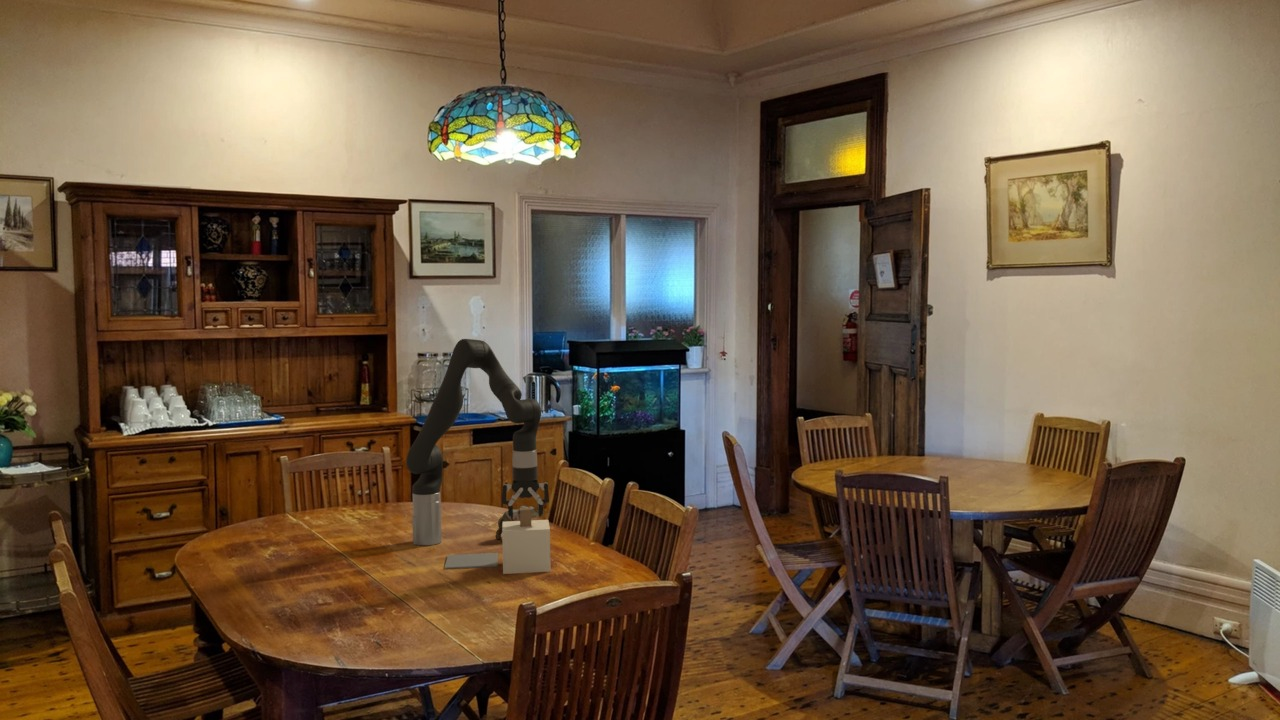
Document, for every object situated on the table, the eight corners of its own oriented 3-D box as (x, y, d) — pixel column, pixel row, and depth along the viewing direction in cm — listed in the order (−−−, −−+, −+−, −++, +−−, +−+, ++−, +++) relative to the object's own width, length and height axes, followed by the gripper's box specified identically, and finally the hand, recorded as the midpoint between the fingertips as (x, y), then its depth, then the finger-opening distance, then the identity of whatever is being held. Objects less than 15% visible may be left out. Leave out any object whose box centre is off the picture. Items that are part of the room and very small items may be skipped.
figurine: (533, 552, 321) (542, 510, 319) (492, 542, 321) (501, 500, 319) (537, 542, 331) (546, 502, 328) (497, 533, 331) (506, 492, 328)
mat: (444, 569, 290) (444, 567, 290) (447, 556, 304) (447, 555, 304) (497, 566, 292) (497, 564, 292) (498, 554, 306) (498, 552, 306)
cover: (503, 573, 284) (501, 514, 283) (503, 562, 296) (502, 505, 295) (550, 571, 286) (549, 512, 285) (548, 560, 298) (547, 503, 297)
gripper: (501, 467, 284) (502, 520, 286) (548, 466, 286) (549, 518, 287) (501, 463, 292) (502, 515, 293) (547, 461, 294) (548, 513, 295)
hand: (525, 517), depth 290 cm, fingers open, 8 cm apart
